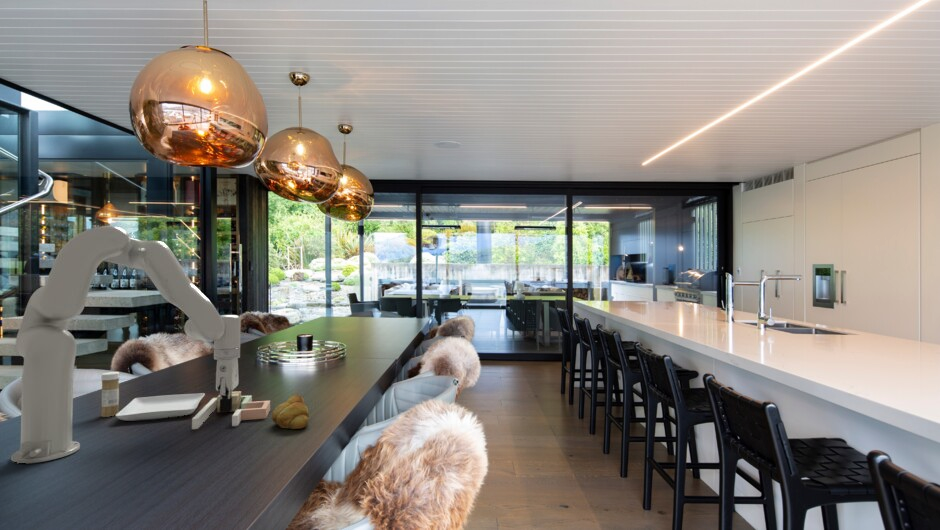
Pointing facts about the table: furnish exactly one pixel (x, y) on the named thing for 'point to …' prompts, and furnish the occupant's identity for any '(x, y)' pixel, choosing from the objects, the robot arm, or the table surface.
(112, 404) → the sprinkles bottle
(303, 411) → the bread roll
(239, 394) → the block
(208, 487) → the table surface
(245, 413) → the pastel wall shelf
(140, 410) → the salad plate
